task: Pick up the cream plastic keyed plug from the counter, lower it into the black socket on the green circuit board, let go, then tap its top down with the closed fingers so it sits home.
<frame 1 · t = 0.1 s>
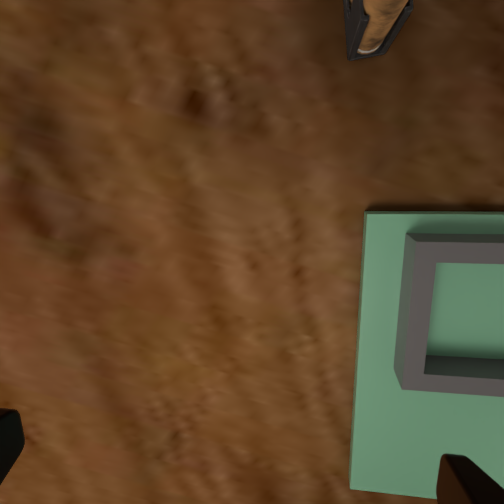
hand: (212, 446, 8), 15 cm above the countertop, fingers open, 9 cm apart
board: (460, 363, 22), on the countertop
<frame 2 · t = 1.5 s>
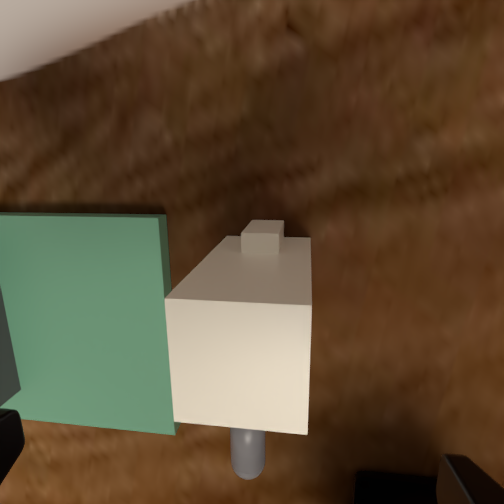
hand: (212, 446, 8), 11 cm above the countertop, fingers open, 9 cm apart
plug: (268, 276, 18), on the countertop
board: (22, 317, 21), on the countertop
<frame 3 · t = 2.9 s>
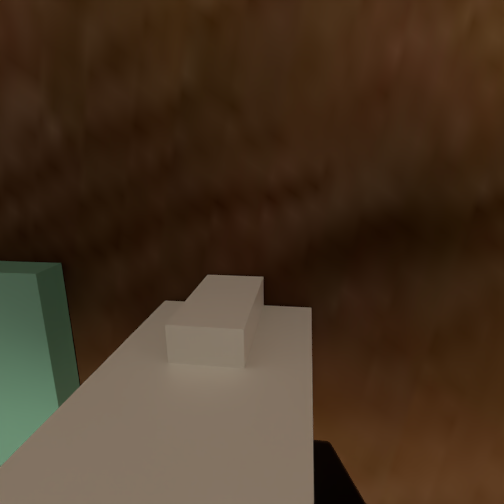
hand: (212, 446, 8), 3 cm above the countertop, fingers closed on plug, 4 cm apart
plug: (237, 369, 10), on the countertop, touching gripper
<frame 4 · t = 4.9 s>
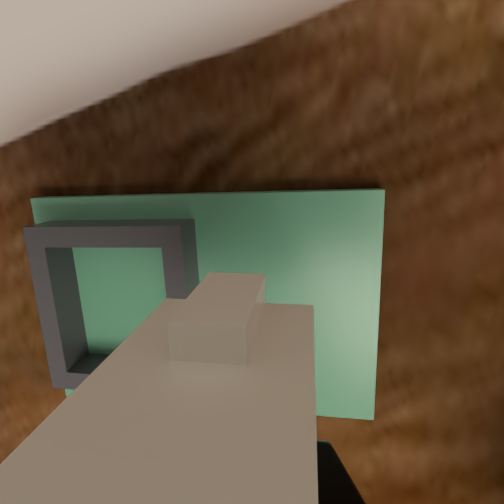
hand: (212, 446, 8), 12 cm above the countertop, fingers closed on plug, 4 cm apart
plug: (239, 367, 10), point 9 cm above the countertop, touching gripper
board: (206, 301, 20), on the countertop
when the fingers open (5 cm above the countertop, at t = 6.9 s): plug stays where it is, resting on board.
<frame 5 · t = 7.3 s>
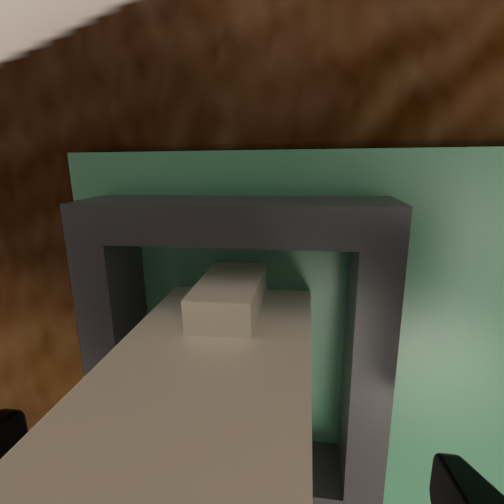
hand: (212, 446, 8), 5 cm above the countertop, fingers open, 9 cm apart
plug: (243, 349, 11), point 1 cm above the countertop, touching board
board: (372, 344, 12), on the countertop
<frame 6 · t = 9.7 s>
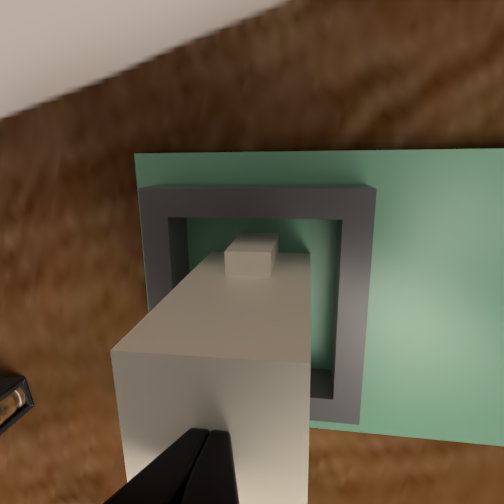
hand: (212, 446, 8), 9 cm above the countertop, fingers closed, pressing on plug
plug: (260, 298, 15), point 1 cm above the countertop, touching board, gripper
board: (355, 296, 16), on the countertop
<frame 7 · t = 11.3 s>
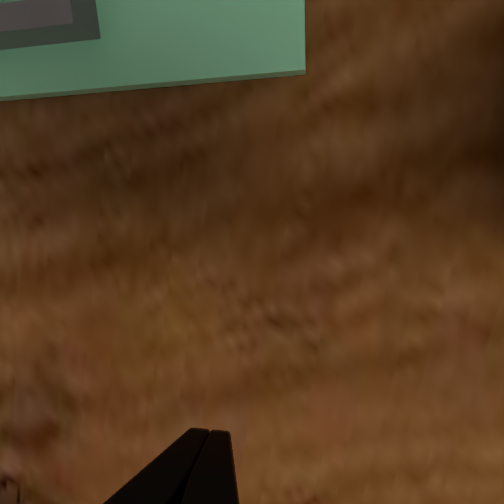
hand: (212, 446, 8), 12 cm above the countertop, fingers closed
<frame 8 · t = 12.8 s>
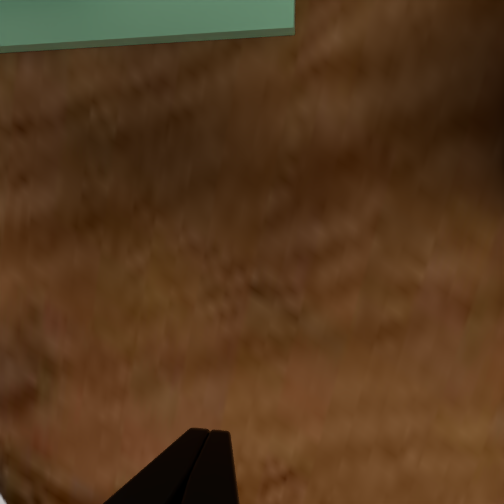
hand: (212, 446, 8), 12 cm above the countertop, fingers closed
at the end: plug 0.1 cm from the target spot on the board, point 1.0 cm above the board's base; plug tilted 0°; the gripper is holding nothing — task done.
